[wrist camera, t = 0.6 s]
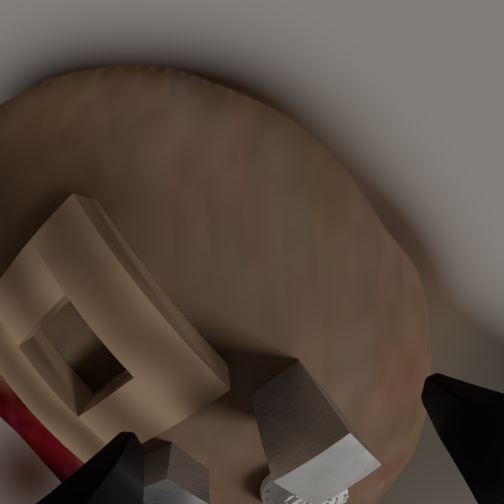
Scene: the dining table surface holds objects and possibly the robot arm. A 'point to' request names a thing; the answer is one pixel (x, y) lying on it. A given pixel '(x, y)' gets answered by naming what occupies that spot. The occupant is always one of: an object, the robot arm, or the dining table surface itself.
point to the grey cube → (175, 478)
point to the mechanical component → (290, 494)
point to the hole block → (100, 335)
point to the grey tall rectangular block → (308, 437)
